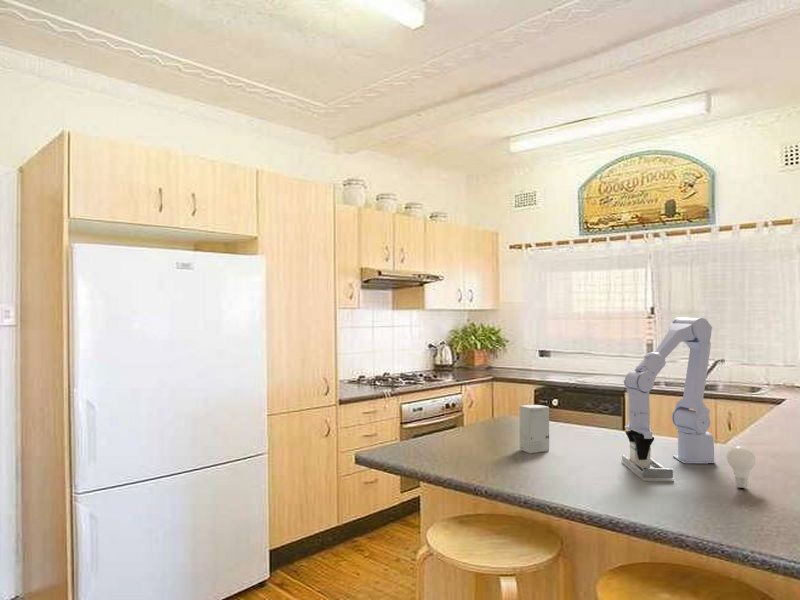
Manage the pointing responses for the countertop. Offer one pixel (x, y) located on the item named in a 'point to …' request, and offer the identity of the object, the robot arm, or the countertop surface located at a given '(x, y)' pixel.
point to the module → (635, 457)
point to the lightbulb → (741, 464)
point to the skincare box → (534, 428)
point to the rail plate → (649, 470)
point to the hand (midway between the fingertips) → (639, 457)
